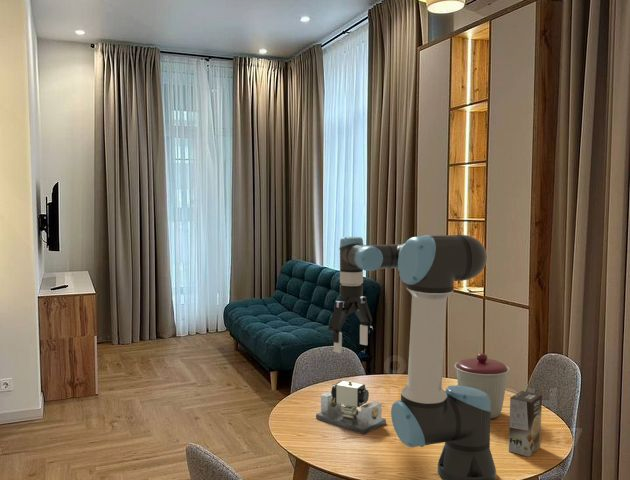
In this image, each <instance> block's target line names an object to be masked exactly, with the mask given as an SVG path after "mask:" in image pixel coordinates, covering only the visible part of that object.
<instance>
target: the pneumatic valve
mask: <svg viewBox="0 0 630 480" xmlns="http://www.w3.org/2000/svg"><path fill="white" fill-rule="evenodd" d="M330 391H331V395H332V397H333V398H334V400H335V403H339V404H341V405H343V406H345V407H342V410H341V413H342V414H343V415H342V416H343V417H345V418H350V419H353V418H354V417H356V416H358V411H359V410H358V408H361V406H363V405H365V404H368V400H369V397H370V393H369V390H368V389H367V387H366V384H362V383H357V382H353V381H352V380H348V381H346V380H340V381H338V382H337V383H334V384H333V385H332V388H331V390H330Z"/></svg>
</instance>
